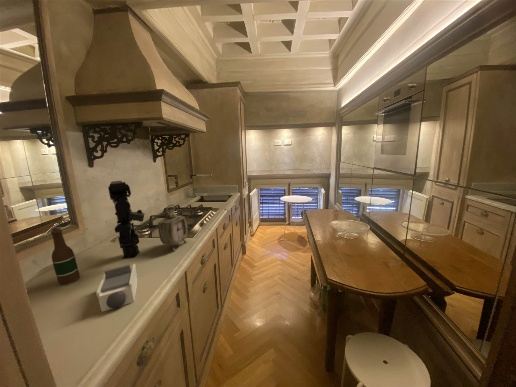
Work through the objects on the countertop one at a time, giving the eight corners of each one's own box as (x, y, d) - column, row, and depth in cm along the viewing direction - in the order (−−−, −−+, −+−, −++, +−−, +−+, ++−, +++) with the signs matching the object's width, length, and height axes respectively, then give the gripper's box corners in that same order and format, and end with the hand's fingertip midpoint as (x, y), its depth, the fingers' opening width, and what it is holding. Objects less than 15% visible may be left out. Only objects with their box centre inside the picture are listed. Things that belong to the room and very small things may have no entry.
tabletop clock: (174, 253, 115) (167, 208, 110) (160, 252, 117) (153, 208, 112) (189, 241, 129) (184, 201, 123) (177, 240, 131) (171, 201, 126)
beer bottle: (62, 278, 97) (48, 229, 92) (83, 273, 100) (71, 225, 95) (54, 288, 90) (39, 235, 85) (77, 282, 93) (63, 231, 88)
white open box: (109, 287, 88) (106, 270, 87) (138, 279, 93) (135, 263, 91) (100, 314, 73) (95, 295, 71) (134, 303, 77) (130, 285, 76)
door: (107, 279, 83) (105, 269, 82) (131, 272, 86) (129, 263, 86) (101, 292, 75) (99, 282, 74) (129, 284, 78) (127, 275, 78)
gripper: (140, 210, 95) (146, 242, 99) (142, 202, 112) (147, 230, 115) (111, 214, 91) (118, 248, 94) (118, 205, 108) (124, 234, 111)
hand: (128, 239), depth 104 cm, fingers closed
